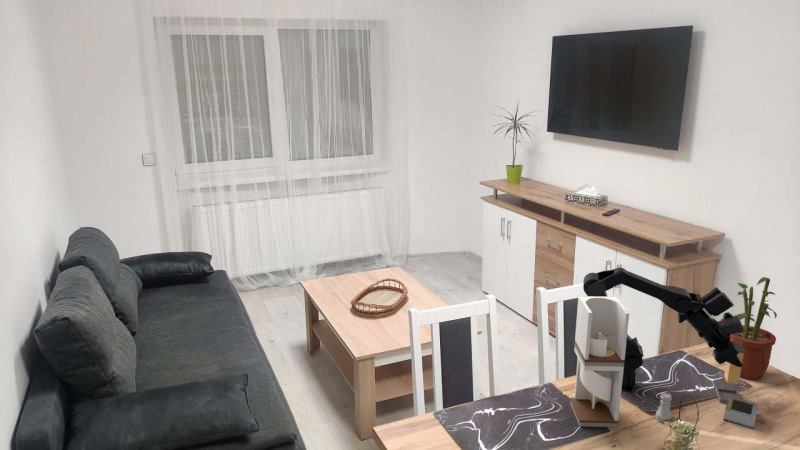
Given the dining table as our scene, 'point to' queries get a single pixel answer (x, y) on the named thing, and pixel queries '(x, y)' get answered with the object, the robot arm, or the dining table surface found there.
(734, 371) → the amber plug
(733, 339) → the potted plant
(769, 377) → the dining table surface
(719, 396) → the charcoal tray
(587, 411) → the curved tiered shelf
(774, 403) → the dining table surface
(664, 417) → the rook chess piece
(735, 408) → the steel socket block
